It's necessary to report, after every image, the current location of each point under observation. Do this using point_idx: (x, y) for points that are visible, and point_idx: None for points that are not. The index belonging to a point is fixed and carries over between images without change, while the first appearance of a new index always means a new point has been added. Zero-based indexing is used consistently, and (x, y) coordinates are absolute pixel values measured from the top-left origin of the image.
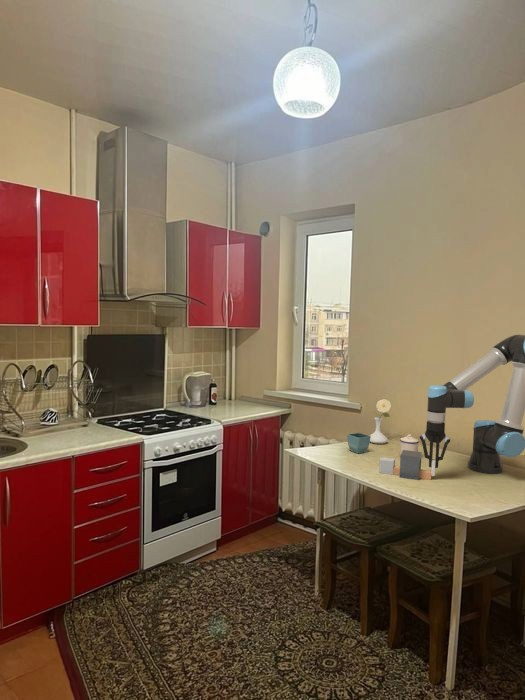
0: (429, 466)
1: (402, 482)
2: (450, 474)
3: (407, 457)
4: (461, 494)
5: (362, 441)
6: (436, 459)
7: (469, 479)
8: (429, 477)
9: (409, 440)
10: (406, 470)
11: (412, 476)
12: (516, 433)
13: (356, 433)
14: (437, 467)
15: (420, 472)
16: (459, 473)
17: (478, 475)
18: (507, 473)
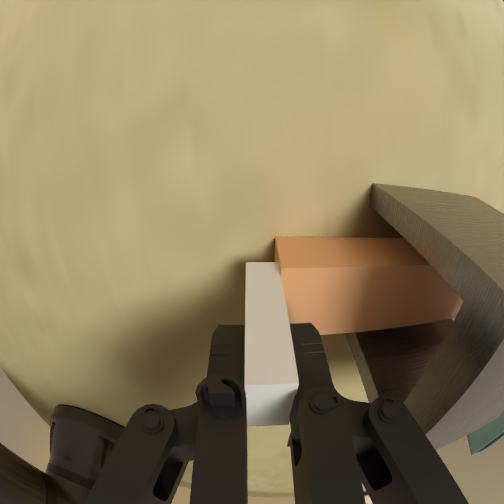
0: (310, 328)
1: (464, 90)
2: (172, 381)
3: None
4: (47, 27)
5: (497, 423)
6: (227, 409)
7: (75, 341)
8: (289, 245)
9: (368, 500)
10: (484, 215)
11: (425, 194)
12: None
13: (491, 444)
14: (218, 331)
15: (375, 262)
16: (143, 398)
17: (80, 389)
18: (46, 409)
